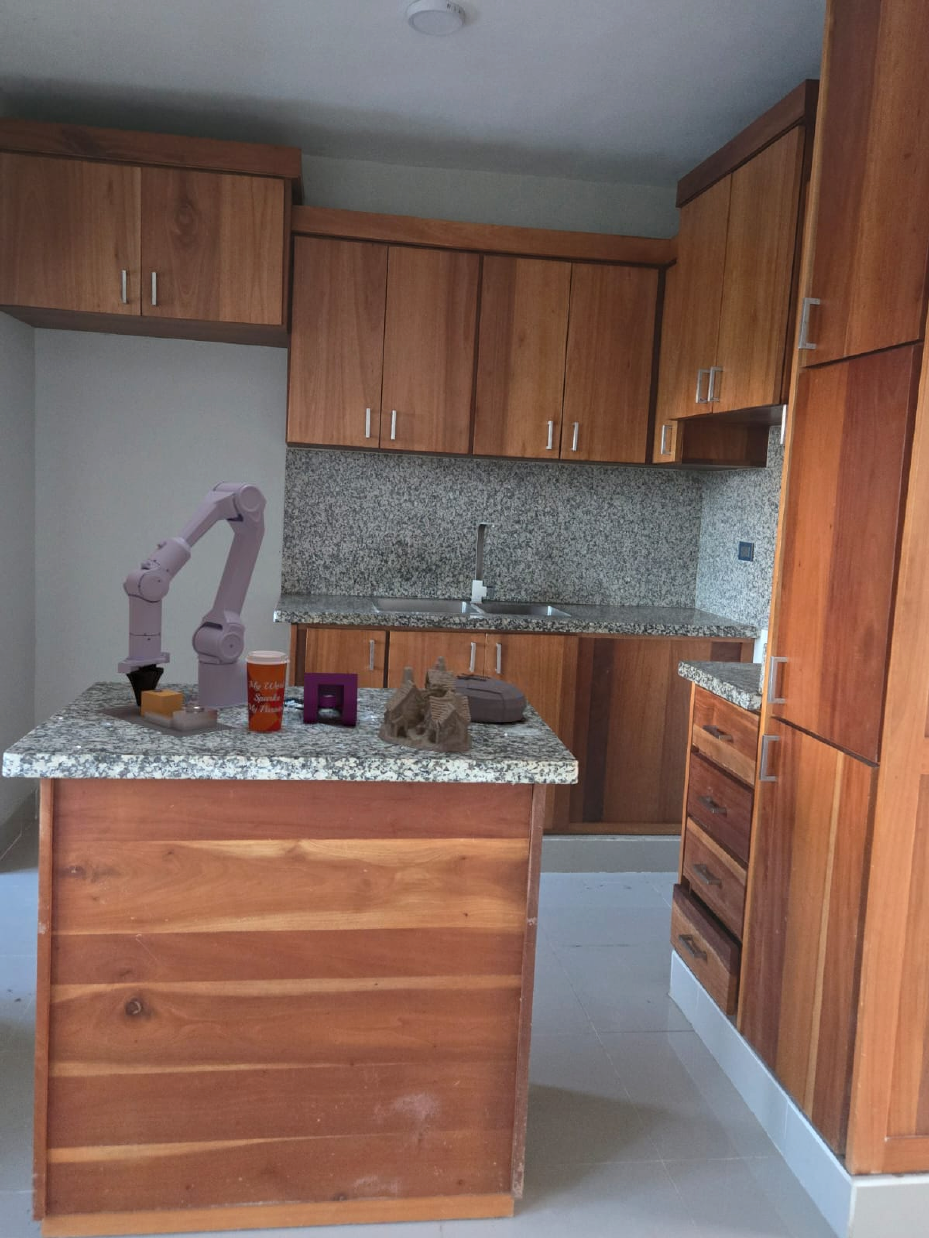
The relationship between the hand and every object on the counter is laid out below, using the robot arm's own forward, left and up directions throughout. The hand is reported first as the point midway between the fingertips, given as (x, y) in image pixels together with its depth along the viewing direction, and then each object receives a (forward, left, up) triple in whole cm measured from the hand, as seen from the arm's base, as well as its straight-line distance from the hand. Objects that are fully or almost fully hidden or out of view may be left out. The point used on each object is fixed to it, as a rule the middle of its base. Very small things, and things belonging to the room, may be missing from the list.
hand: (144, 706), depth 186 cm
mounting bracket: (-27, +21, -2) cm, 34 cm away
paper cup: (-10, +24, -2) cm, 26 cm away
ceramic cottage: (-27, +46, -2) cm, 54 cm away
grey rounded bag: (-51, +38, -2) cm, 64 cm away
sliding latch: (0, +12, -1) cm, 12 cm away
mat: (0, +7, -2) cm, 7 cm away
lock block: (0, +5, -1) cm, 5 cm away
